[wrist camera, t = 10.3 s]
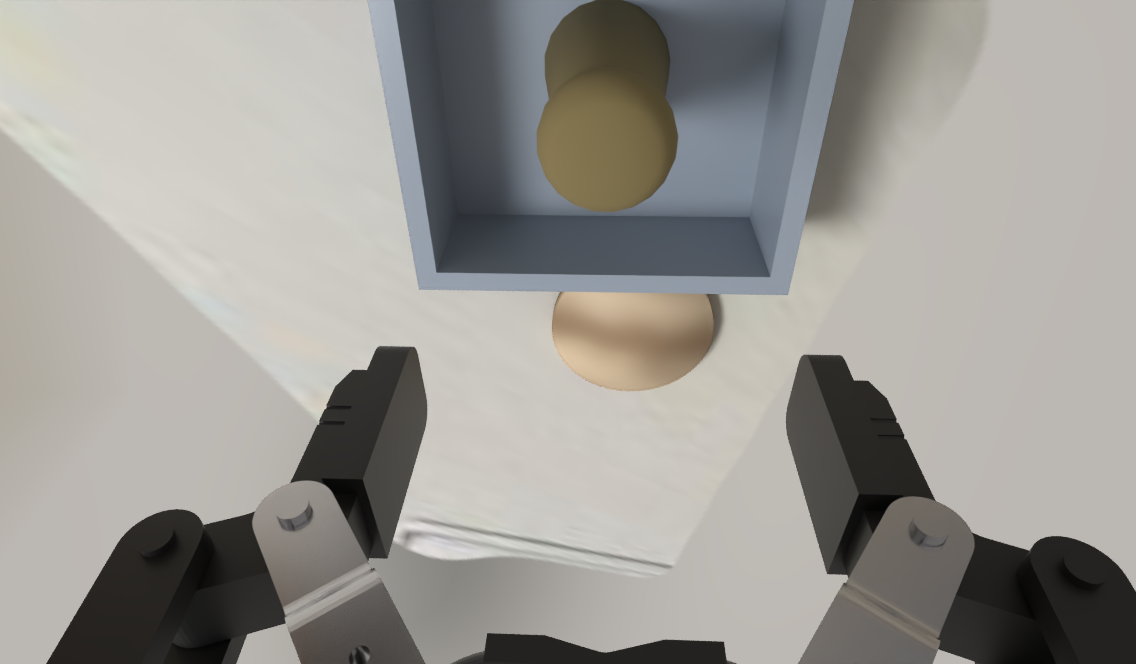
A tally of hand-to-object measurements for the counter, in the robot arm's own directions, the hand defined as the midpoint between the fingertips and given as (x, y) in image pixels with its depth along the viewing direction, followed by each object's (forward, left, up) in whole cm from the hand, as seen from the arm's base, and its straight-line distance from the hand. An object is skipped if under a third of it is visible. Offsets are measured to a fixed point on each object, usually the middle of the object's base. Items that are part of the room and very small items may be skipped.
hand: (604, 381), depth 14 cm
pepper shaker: (0, 0, -23) cm, 23 cm away
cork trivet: (+16, +2, -24) cm, 29 cm away
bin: (0, 0, -24) cm, 24 cm away
